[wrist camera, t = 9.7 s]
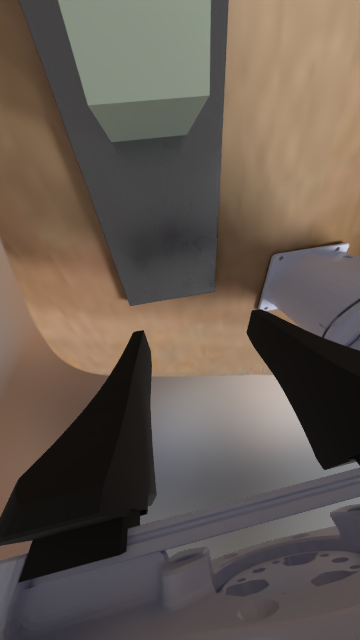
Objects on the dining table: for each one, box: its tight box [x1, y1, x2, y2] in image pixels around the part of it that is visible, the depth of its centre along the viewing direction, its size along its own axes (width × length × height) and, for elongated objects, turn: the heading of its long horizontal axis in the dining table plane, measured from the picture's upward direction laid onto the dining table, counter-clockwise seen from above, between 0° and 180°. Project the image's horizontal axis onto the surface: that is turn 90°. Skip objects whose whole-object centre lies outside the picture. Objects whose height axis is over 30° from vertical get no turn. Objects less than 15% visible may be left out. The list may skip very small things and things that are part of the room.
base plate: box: [19, 0, 229, 306], centre depth 11 cm, size 10×20×4 cm, turn 6°
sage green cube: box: [58, 0, 211, 142], centre depth 7 cm, size 5×5×5 cm
